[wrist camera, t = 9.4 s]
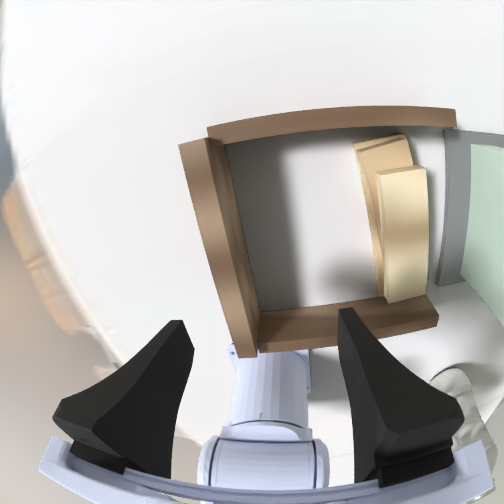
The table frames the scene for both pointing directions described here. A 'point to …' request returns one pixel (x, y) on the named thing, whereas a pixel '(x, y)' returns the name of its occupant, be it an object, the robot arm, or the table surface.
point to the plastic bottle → (466, 416)
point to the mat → (458, 199)
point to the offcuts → (395, 215)
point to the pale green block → (486, 228)
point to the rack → (234, 247)
